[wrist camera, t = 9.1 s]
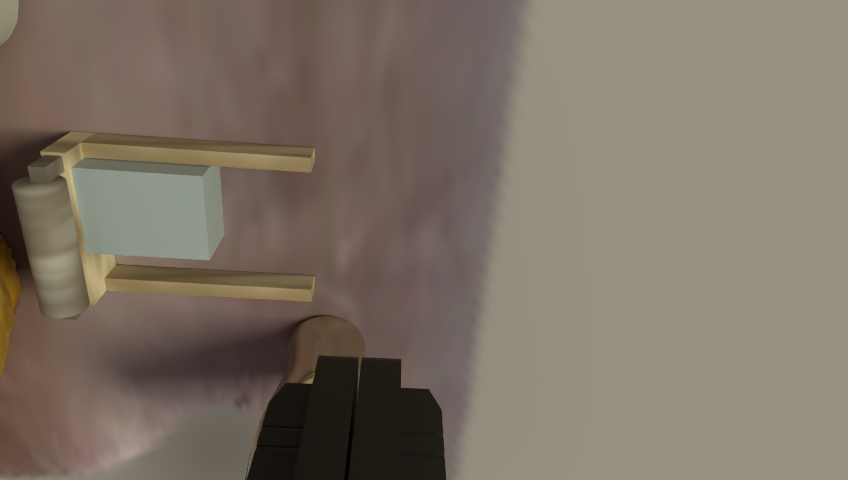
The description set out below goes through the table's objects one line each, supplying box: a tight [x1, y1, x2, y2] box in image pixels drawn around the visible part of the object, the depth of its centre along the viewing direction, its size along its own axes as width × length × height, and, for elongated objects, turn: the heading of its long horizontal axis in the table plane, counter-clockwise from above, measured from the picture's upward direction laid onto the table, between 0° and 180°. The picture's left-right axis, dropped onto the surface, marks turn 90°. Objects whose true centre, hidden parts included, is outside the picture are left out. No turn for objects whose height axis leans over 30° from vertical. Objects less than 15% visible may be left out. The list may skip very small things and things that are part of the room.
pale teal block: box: [71, 158, 224, 260], centre depth 43 cm, size 6×8×4 cm
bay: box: [12, 131, 315, 320], centre depth 42 cm, size 11×17×7 cm, turn 86°
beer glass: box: [245, 316, 366, 480], centre depth 44 cm, size 7×7×15 cm
